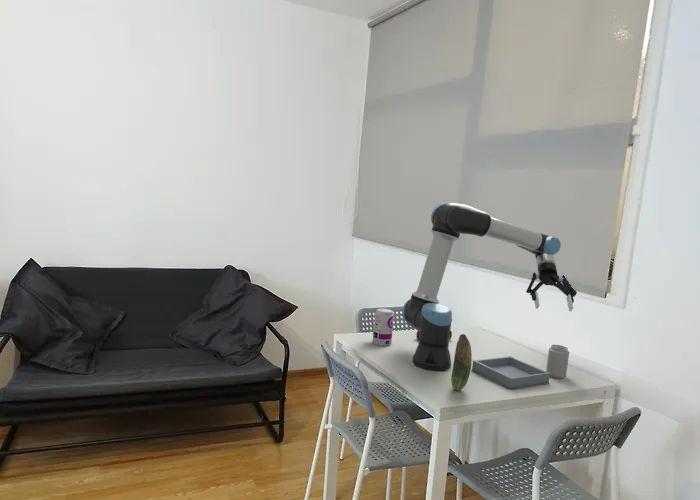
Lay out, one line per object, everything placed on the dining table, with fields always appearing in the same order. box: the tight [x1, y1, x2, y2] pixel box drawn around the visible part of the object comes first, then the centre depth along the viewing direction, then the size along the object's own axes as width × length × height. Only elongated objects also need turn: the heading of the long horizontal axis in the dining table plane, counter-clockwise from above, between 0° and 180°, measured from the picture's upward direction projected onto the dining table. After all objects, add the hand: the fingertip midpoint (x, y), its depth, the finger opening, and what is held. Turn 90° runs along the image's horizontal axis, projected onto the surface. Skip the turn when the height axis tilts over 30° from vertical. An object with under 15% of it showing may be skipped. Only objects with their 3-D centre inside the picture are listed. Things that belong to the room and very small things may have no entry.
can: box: [545, 344, 570, 380], centre depth 203 cm, size 8×8×12 cm
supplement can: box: [372, 307, 395, 347], centre depth 227 cm, size 8×8×15 cm
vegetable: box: [450, 333, 473, 392], centre depth 179 cm, size 6×6×20 cm
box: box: [471, 355, 551, 390], centre depth 198 cm, size 20×20×4 cm
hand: (554, 308), depth 212 cm, fingers open, 13 cm apart
